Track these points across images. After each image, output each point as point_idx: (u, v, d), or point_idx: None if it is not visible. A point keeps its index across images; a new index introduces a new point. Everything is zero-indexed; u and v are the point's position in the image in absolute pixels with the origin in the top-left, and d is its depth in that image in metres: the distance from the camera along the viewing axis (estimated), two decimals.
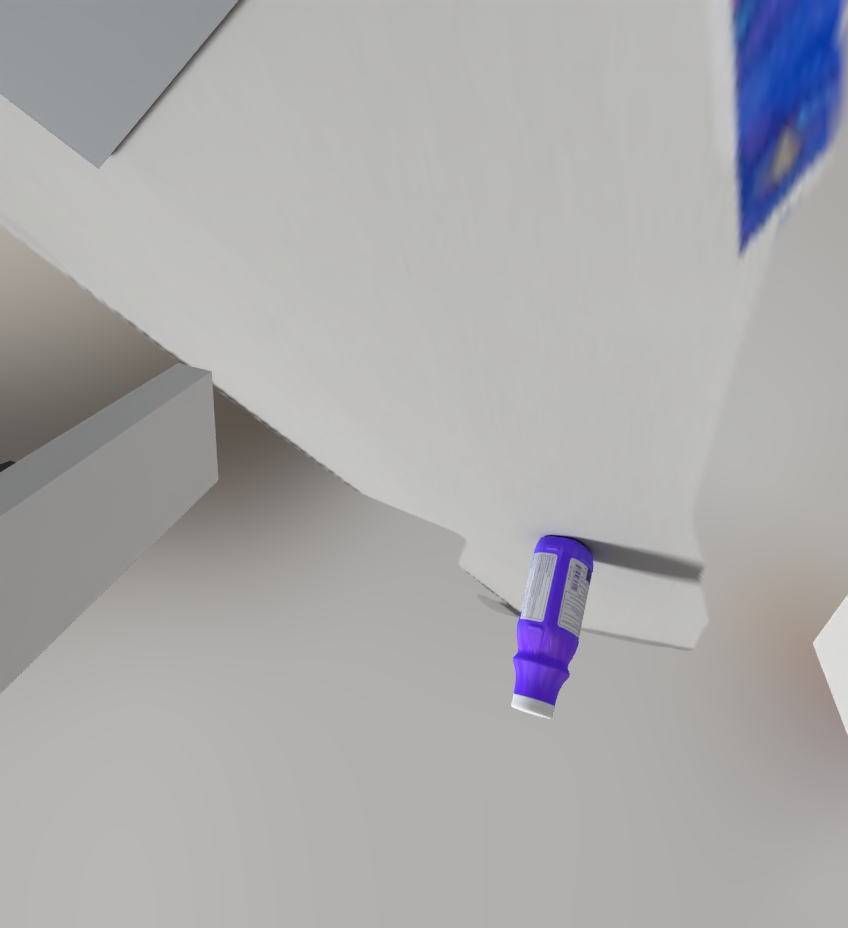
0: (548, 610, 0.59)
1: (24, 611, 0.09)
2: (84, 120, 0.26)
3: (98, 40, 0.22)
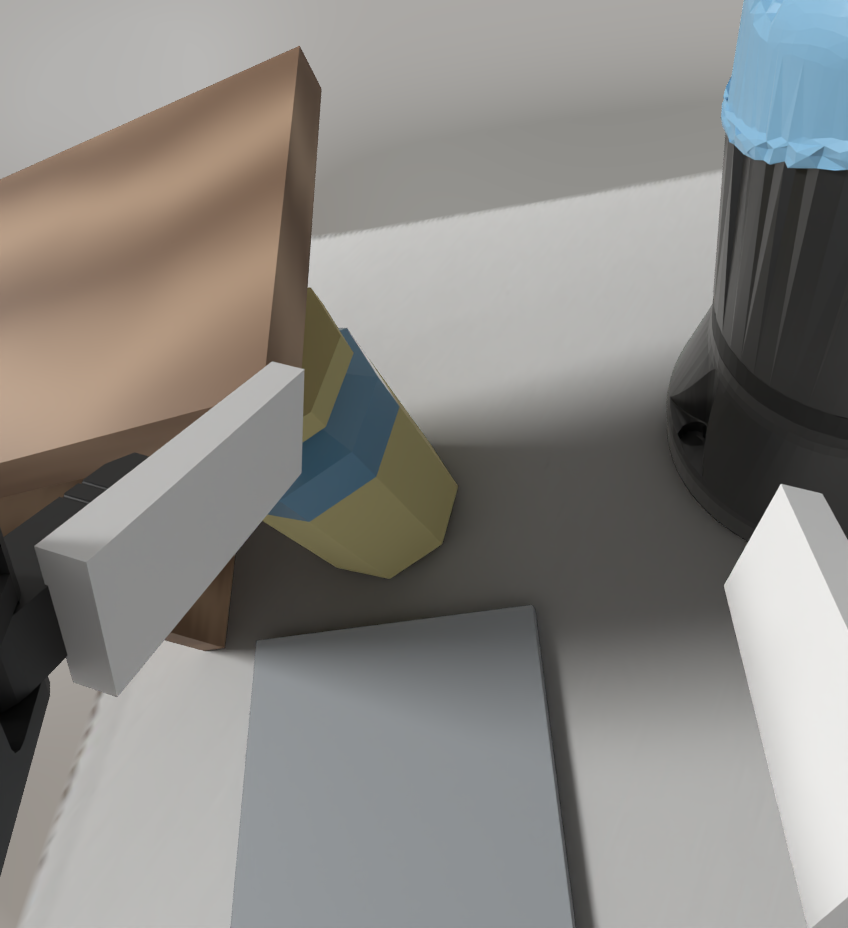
0: None
1: (163, 591, 0.09)
2: None
3: None
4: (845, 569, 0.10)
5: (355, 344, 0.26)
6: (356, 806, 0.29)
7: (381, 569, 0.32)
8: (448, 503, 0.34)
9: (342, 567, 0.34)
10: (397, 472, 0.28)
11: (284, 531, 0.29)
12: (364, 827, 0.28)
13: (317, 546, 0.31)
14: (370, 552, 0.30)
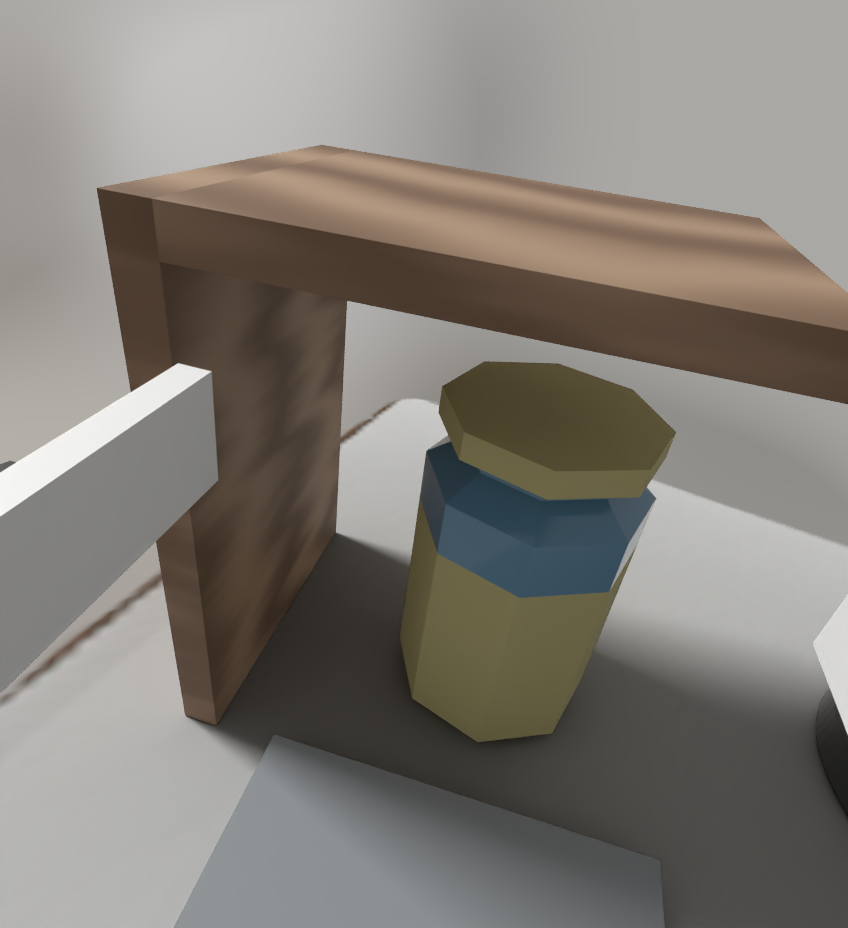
0: None
1: (24, 611, 0.09)
2: None
3: None
4: None
5: None
6: None
7: (487, 721, 0.25)
8: (573, 691, 0.28)
9: (424, 699, 0.27)
10: (605, 607, 0.24)
11: (438, 606, 0.24)
12: None
13: (450, 648, 0.25)
14: (507, 687, 0.24)
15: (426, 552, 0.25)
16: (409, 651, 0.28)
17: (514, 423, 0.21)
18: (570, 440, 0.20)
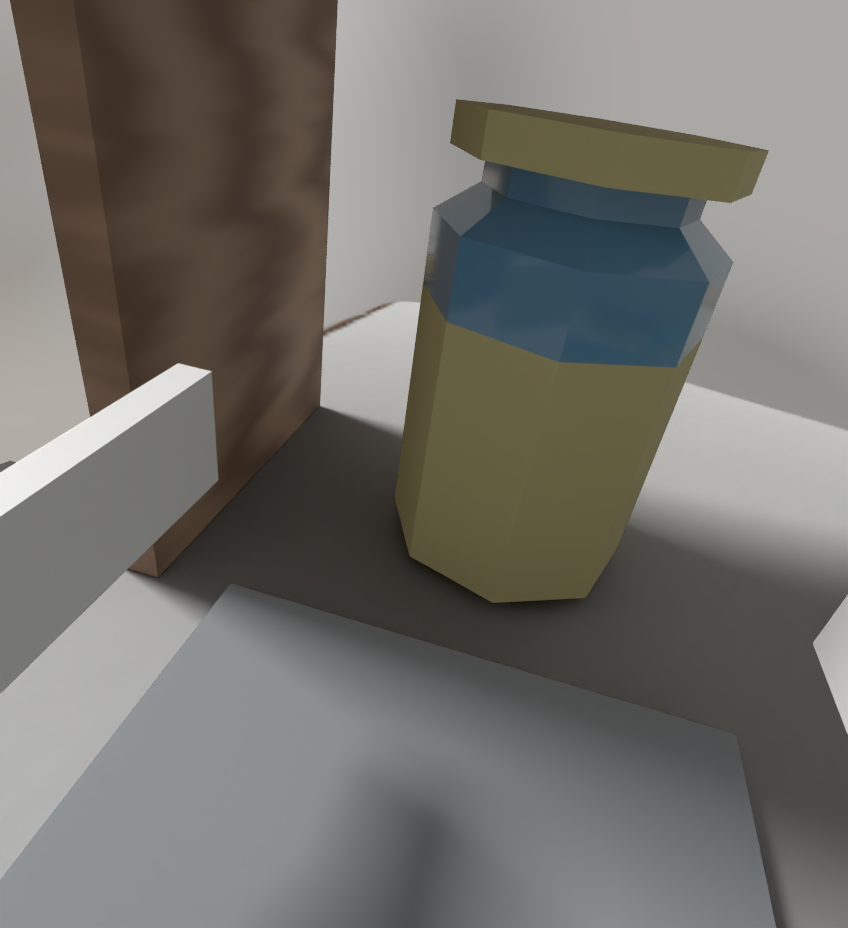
0: None
1: (24, 611, 0.09)
2: None
3: None
4: None
5: None
6: None
7: (506, 570, 0.20)
8: (611, 553, 0.23)
9: (425, 554, 0.22)
10: (664, 408, 0.18)
11: (446, 406, 0.18)
12: None
13: (460, 468, 0.19)
14: (534, 516, 0.19)
15: (431, 342, 0.19)
16: (406, 500, 0.23)
17: (555, 117, 0.15)
18: (634, 131, 0.15)
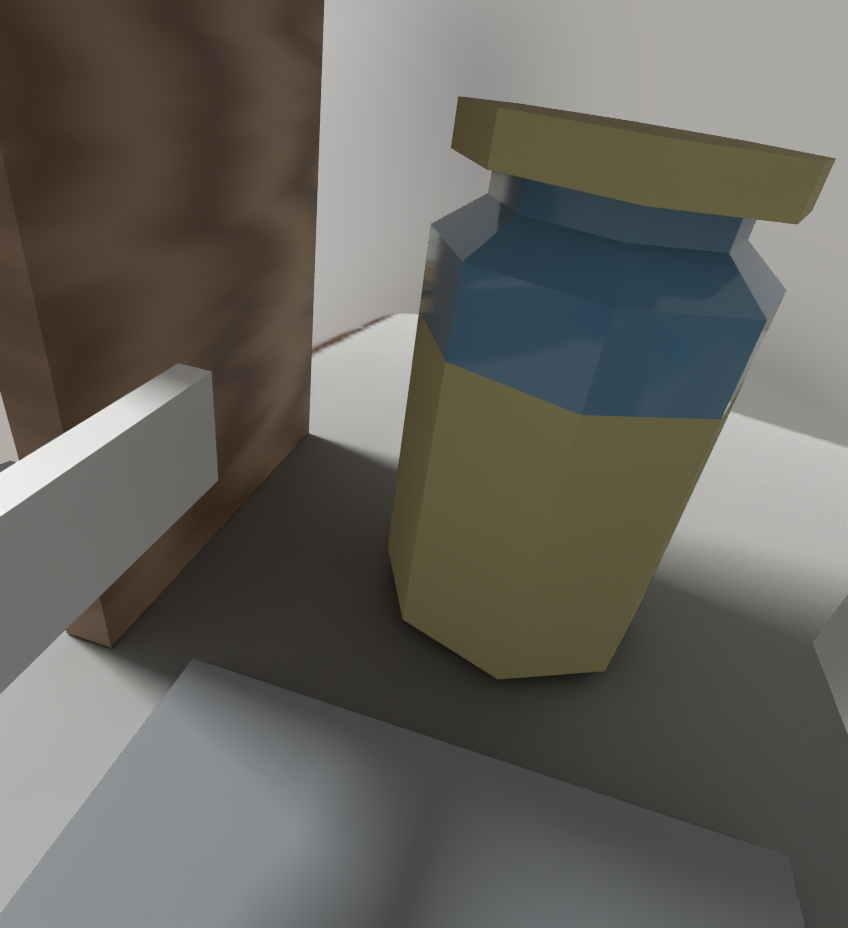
0: None
1: (24, 611, 0.09)
2: None
3: None
4: None
5: None
6: None
7: (513, 645, 0.17)
8: (633, 616, 0.20)
9: (420, 619, 0.19)
10: (703, 462, 0.15)
11: (445, 458, 0.16)
12: None
13: (461, 528, 0.16)
14: (547, 587, 0.16)
15: (427, 381, 0.16)
16: (400, 554, 0.20)
17: (579, 118, 0.13)
18: (677, 135, 0.12)
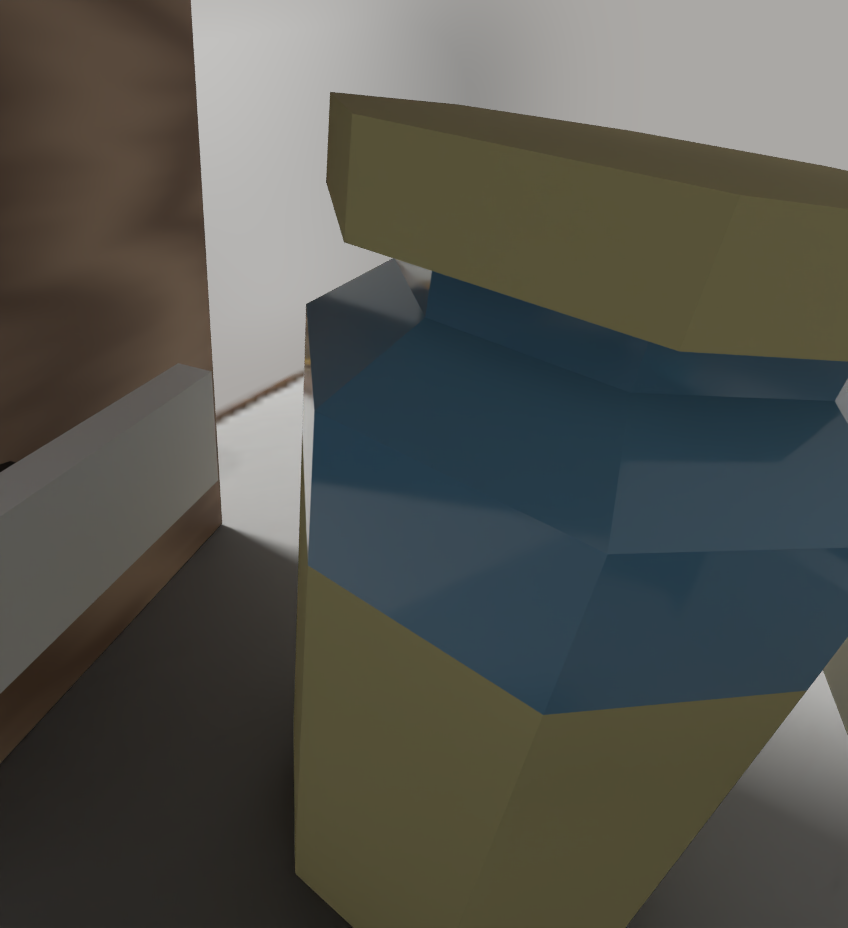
0: None
1: (24, 611, 0.09)
2: None
3: None
4: None
5: None
6: None
7: None
8: None
9: (317, 883, 0.12)
10: None
11: (325, 702, 0.09)
12: None
13: (358, 800, 0.10)
14: (499, 908, 0.10)
15: (303, 561, 0.10)
16: (295, 768, 0.13)
17: (537, 136, 0.06)
18: (741, 173, 0.06)
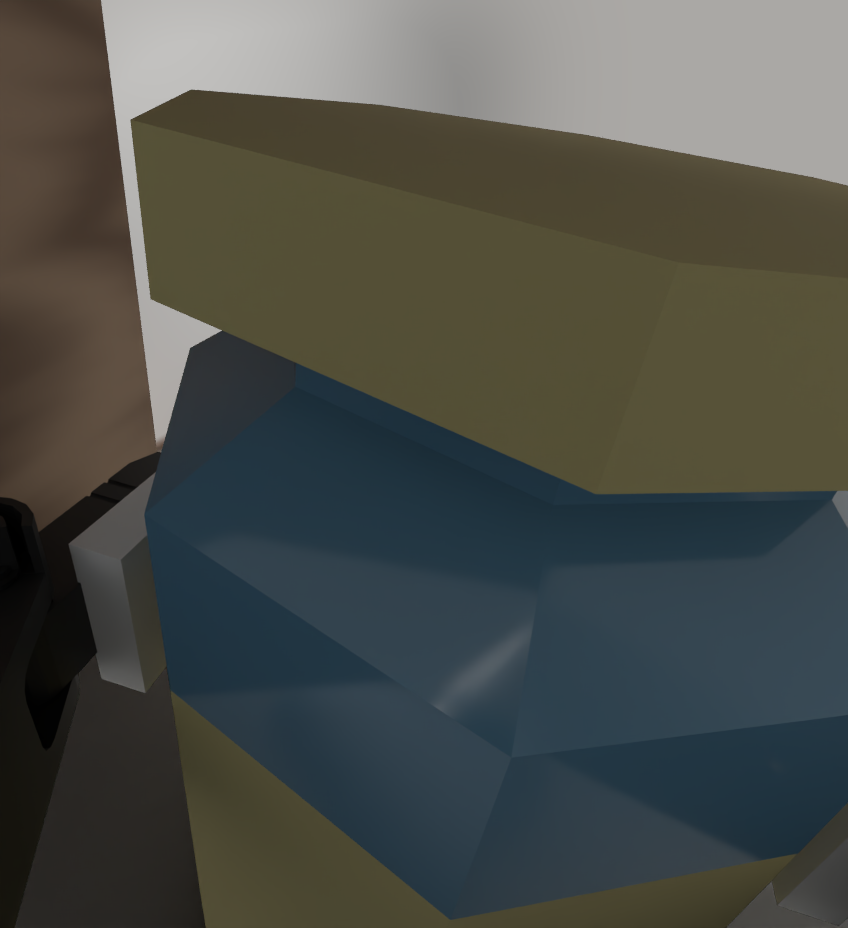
0: None
1: None
2: None
3: None
4: None
5: None
6: None
7: None
8: None
9: None
10: None
11: (213, 837, 0.08)
12: None
13: None
14: None
15: None
16: None
17: (427, 148, 0.05)
18: (701, 201, 0.04)
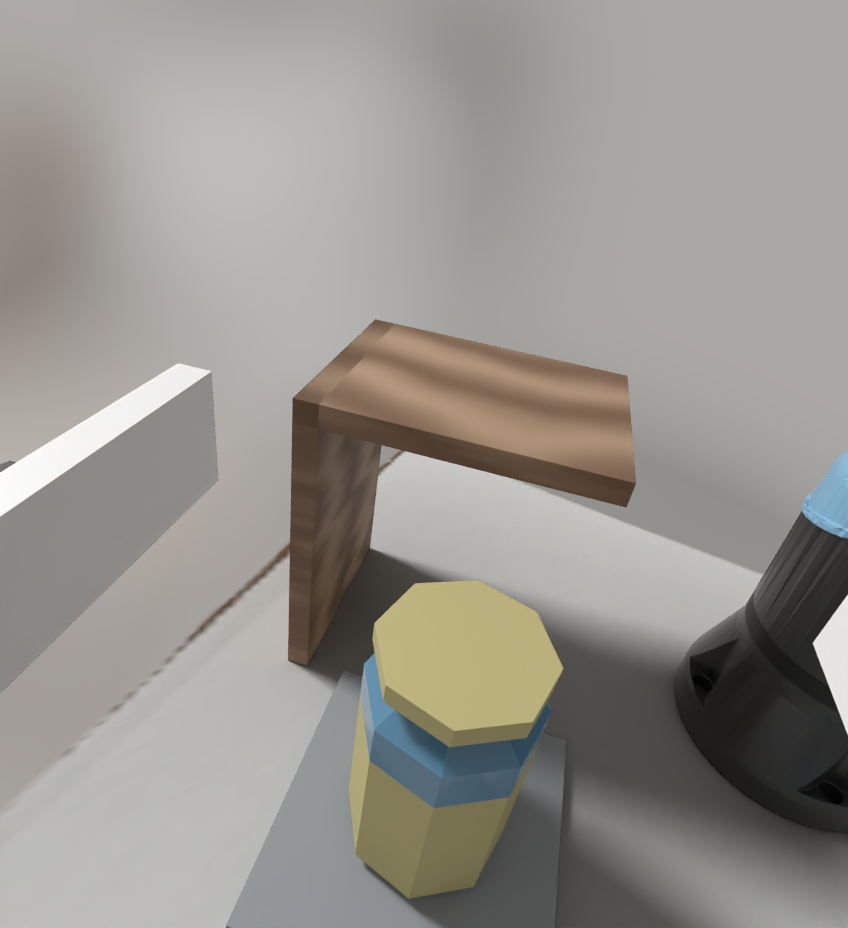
0: None
1: (24, 611, 0.09)
2: (286, 909, 0.30)
3: (382, 921, 0.31)
4: None
5: None
6: None
7: (415, 884, 0.30)
8: (494, 845, 0.33)
9: (365, 857, 0.32)
10: (510, 798, 0.29)
11: (372, 796, 0.29)
12: None
13: (383, 827, 0.29)
14: (430, 862, 0.29)
15: (363, 747, 0.29)
16: (354, 811, 0.33)
17: (428, 669, 0.26)
18: (473, 688, 0.25)
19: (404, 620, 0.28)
